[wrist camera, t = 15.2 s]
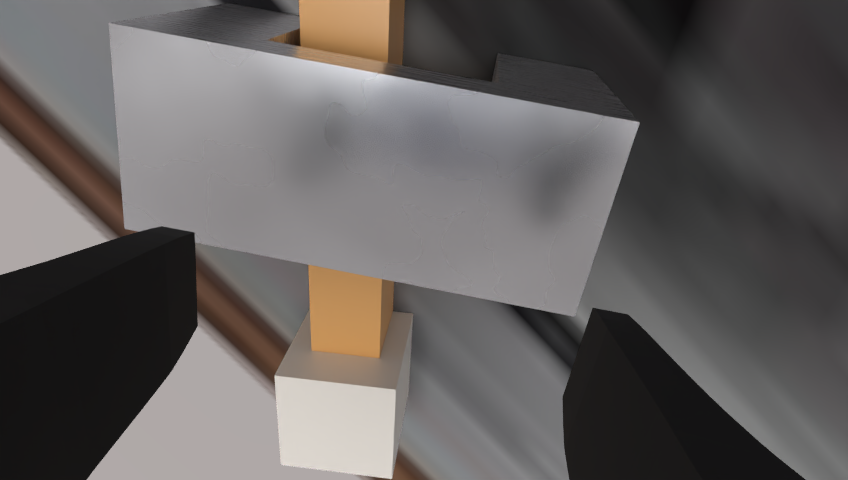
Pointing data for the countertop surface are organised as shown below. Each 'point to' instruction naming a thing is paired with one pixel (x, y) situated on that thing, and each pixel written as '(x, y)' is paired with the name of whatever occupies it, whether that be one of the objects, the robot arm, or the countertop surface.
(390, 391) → the plug
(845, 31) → the countertop surface
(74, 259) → the robot arm
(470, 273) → the housing
